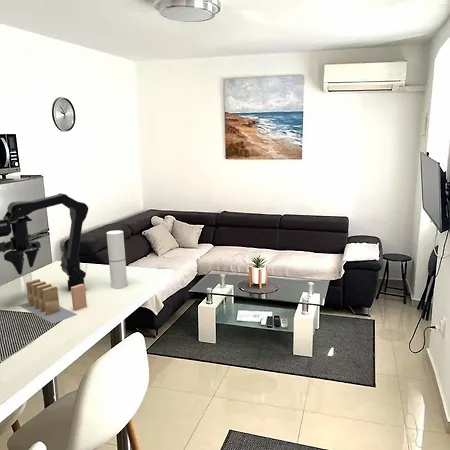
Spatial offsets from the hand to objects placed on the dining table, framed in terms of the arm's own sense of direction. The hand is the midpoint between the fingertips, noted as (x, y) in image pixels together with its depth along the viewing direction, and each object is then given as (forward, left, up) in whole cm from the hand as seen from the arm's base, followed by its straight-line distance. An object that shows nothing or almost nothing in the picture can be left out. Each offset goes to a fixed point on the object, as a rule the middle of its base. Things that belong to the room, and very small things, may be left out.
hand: (25, 270), depth 178 cm
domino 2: (-5, +10, -13) cm, 17 cm away
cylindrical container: (-37, -6, -14) cm, 40 cm away
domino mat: (-7, +13, -14) cm, 21 cm away
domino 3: (-7, +13, -13) cm, 20 cm away
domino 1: (-3, +6, -13) cm, 14 cm away
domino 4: (-10, +17, -13) cm, 24 cm away
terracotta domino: (-20, +17, -14) cm, 29 cm away
